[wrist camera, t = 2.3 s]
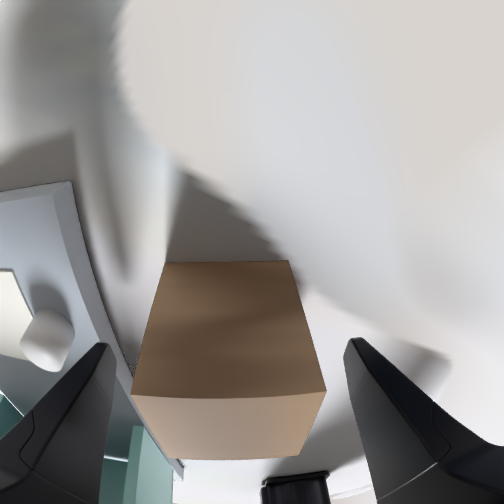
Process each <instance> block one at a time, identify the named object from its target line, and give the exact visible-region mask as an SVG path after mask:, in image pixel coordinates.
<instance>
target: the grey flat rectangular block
mask: <svg viewBox="0 0 504 504" xmlns="http://www.w3.org/2000/svg"><path fill="white" fill-rule="evenodd" d="M97 342H106V343H109V344H110V346H111V348H112V350H113V353H114V355H115V357H116V360H117V368H116V377H115V387H114V399H113V407H112V412H111V418H110V423H109V429H108V435H107V441H106V447H105V453H104V458H108V459H113V460H119V461H125V462H128V457H129V450H130V443H131V436H132V430H133V425H135V426H144V427H145V429H146V430H147V432H148V433H149V435H150V436H151V438H152V440H153V441H154V443H155V444H156V445H157V447H158V448H159V450H160V451H161V453H162V454H163V456H164V457H165V458H166V460H167V461H168V463H169V464H170V465H171V467H172V468H173V469H174V470H173V481H183V473H184V470H183V468H182V467H181V465H180V464H179V462H178V460H177V459H175V458H168V457H167V455H166V454H165V452H164V451H163V449H162V448H161V446H160V444H159V443H158V441H157V440H156V438H155V437H154V435H153V433H152V432H151V430H150V429H149V427H148V425H147V424H146V422H145V420H144V418H143V417H142V415H141V413H140V412H139V410H138V408H137V406H136V404H135V403H134V401H133V399H132V397H131V395H130V393H131V388H132V383H133V377H132V375H131V373H130V370H129V368H128V366H127V364H126V361H125V359H124V357H123V354H122V352H121V350H120V347H119V345H118V342H117V340H116V337H115V335H114V332H113V330H112V327H111V324H110V322H109V319H108V316H107V314H106V311H105V308H104V305H103V302H102V299H101V296H100V293H99V290H98V287H97V284H96V281H95V278H94V274H93V271H92V268H91V264H90V261H89V257H88V254H87V250H86V246H85V242H84V238H83V234H82V230H81V226H80V222H79V217H78V213H77V208H76V203H75V198H74V193H73V188H72V182H71V181H66V182H59V183H52V184H45V185H38V186H32V187H26V188H20V189H15V190H9V191H4V192H0V390H1V391H2V392H3V393H4V394H5V396H6V397H7V398H8V399H9V400H10V401H11V402H12V403H13V405H14V406H15V407H16V408H17V409H18V410H19V411H20V412H21V413H22V414H23V415H24V416H25V415H26V414H27V413H28V412H29V411H30V410H31V409H33V407H34V406H35V405H36V404H37V402H38V401H39V400H40V399H41V398H42V397H43V396H44V395H45V394H46V393H47V392H48V391H49V390H50V389H51V388H52V387H53V386H54V385H55V384H56V383H57V382H58V381H59V380H60V379H61V378H62V376H63V375H64V374H65V373H66V372H67V371H68V370H69V369H70V368H71V367H72V366H73V365H74V364H75V363H76V362H77V361H78V360H79V359H80V358H81V357H82V356H83V355H84V354H85V353H86V352H87V351H88V350H89V349H90V348H91V347H92V346H93V345H94V344H96V343H97Z"/></svg>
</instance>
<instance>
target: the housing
mask: <svg viewBox="0 0 504 504" xmlns="http://www.w3.org/2000/svg"><path fill="white" fill-rule="evenodd" d="M22 418H23V416H22V415H21V414H20V413H19V411H18V410H17V409H16V408H15V407H14V406H13V405H12V404H11V403H10V402H9V401H8V400H7V398H6V397H5V396H4V395H1V394H0V439H1V438H2V437H3V436H4V435H6V434H7V433H8V432H9V431H10V430H11V429H12V428H13V427H14V426H15V425H16V424H17V423H18V422H19V421H20V420H21V419H22ZM173 470H174V469H173V468H172V467H171V465H170V464H169V463H168V461H167V460H166V458H165V457H164V456H163V454H162V453H161V451H160V450H159V448H158V447H157V445H156V444H155V443H154V441H153V440H152V438H151V436H150V435H149V433H148V432H147V430H146V429H145V427H144V426H135V425H133V430H132V436H131V443H130V450H129V457H128V462H125V461H119V460H113V459H108V458H104V460H103V468H102V476H101V484H100V494H99V504H172V491H173Z"/></svg>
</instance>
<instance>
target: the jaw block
mask: <svg viewBox="0 0 504 504" xmlns="http://www.w3.org/2000/svg"><path fill="white" fill-rule="evenodd" d="M326 392H327V391H326V387H325V383H324V380H323V376H322V372H321V369H320V365H319V362H318V358H317V355H316V351H315V348H314V344H313V341H312V337H311V334H310V330H309V327H308V324H307V320H306V317H305V313H304V310H303V307H302V303H301V300H300V297H299V293H298V290H297V287H296V284H295V280H294V277H293V274H292V271H291V267H290V264H289V261H246V262H178V263H165V264H164V268H163V271H162V274H161V277H160V281H159V284H158V287H157V291H156V294H155V297H154V301H153V304H152V308H151V312H150V315H149V319H148V323H147V326H146V330H145V334H144V338H143V342H142V345H141V349H140V354H139V358H138V362H137V366H136V370H135V375H134V379H133V383H132V388H131V393H130V395H131V397H132V399H133V401H134V403H135V404H136V406H137V408H138V410H139V412H140V413H141V415H142V417H143V418H144V420H145V422H146V424H147V425H148V427H149V429H150V430H151V432H152V433H153V435H154V437H155V438H156V440H157V441H158V443H159V444H160V446H161V448H162V449H163V451H164V452H165V454H166V455H167V457H168V458H175V459H192V460H248V459H265V458H278V457H288V456H296V455H299V453H300V451H301V449H302V447H303V445H304V442H305V440H306V438H307V436H308V434H309V432H310V429H311V427H312V425H313V423H314V420H315V418H316V416H317V413H318V411H319V409H320V406H321V404H322V402H323V399H324V397H325V394H326Z"/></svg>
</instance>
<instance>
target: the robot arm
mask: <svg viewBox="0 0 504 504" xmlns="http://www.w3.org/2000/svg"><path fill="white" fill-rule="evenodd" d="M343 360H344V366H345V372H346V377H347V383H348V389H349V395H350V400H351V404H352V408H353V411H354V415H355V418H356V422H357V425H358V429H359V432H360V436H361V440H362V444H363V447H364V451H365V455H366V459H367V463H368V467H369V470H370V474H371V479H372V483H373V487H374V490H375V495H376V499H377V504H504V446H497V445H493V444H491V443H488V442H487V441H485V440H483V439H482V438H480V437H479V436H477V435H476V434H475V433H473V432H472V431H471V430H469V429H468V428H466V427H465V426H464V425H462V424H461V423H459V422H458V421H457V420H455V419H454V418H453V417H452V416H450V415H449V414H448V413H447V412H446V411H445V410H443V409H442V408H441V407H440V406H439V405H438V404H437V403H436V402H434V401H433V400H432V399H431V398H430V397H429V396H428V395H426V394H425V393H424V392H423V391H422V390H421V389H420V388H419V387H418V386H416V385H415V384H414V383H413V382H412V381H411V380H410V379H409V378H407V377H406V376H405V375H404V374H403V373H402V372H401V371H400V370H398V369H397V368H396V367H395V366H394V365H393V364H392V363H391V362H389V361H388V360H387V359H386V358H385V357H384V356H383V355H382V354H380V353H379V352H378V351H377V350H376V349H375V348H374V347H373V346H371V345H370V344H369V343H368V342H367V341H366V340H365V339H363V338H362V337H357V338H351V339H350V340H349V341H348V344H347V347H346V349H345V352H344V356H343ZM116 368H117V360H116V357H115V355H114V353H113V350H112V348H111V346H110V344H109V343H106V342H97V343H96V344H94V345H93V346H92V347H91V348H90V349H89V350H88V351H87V352H86V353H85V354H84V355H83V356H82V357H81V358H80V359H79V360H78V361H77V362H76V363H75V364H74V365H73V366H72V367H71V368H70V369H69V370H68V371H67V372H66V373H65V374H64V375H63V376H62V378H61V379H60V380H59V381H58V382H57V383H56V384H55V385H54V386H53V387H52V388H51V389H50V390H49V391H48V392H47V393H46V394H45V395H44V396H43V397H42V398H41V399H40V400H39V401H38V402H37V404H36V405H35V406H34V407H33V409H31V410H30V411H29V412H28V413H27V414H26V415H25V416H24V417H23V418H22V419H21V420H20V421H19V422H18V423H17V424H16V425H15V426H14V427H13V428H12V429H11V430H10V431H9V432H8V433H7V434H6V435H4V436H3V437H2V438H1V439H0V504H99V494H100V484H101V476H102V468H103V460H104V453H105V447H106V441H107V435H108V429H109V423H110V418H111V412H112V407H113V399H114V387H115V377H116ZM329 476H330V473H329V471H327V472H321V473H315V474H309V475H302V476H294V477H286V478H276V479H268V480H266V482H265V485H264V487H262V488H261V490H260V501H261V504H331V503H330V498H329V493H328V488H327V483H326V479H327V478H328V477H329Z"/></svg>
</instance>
